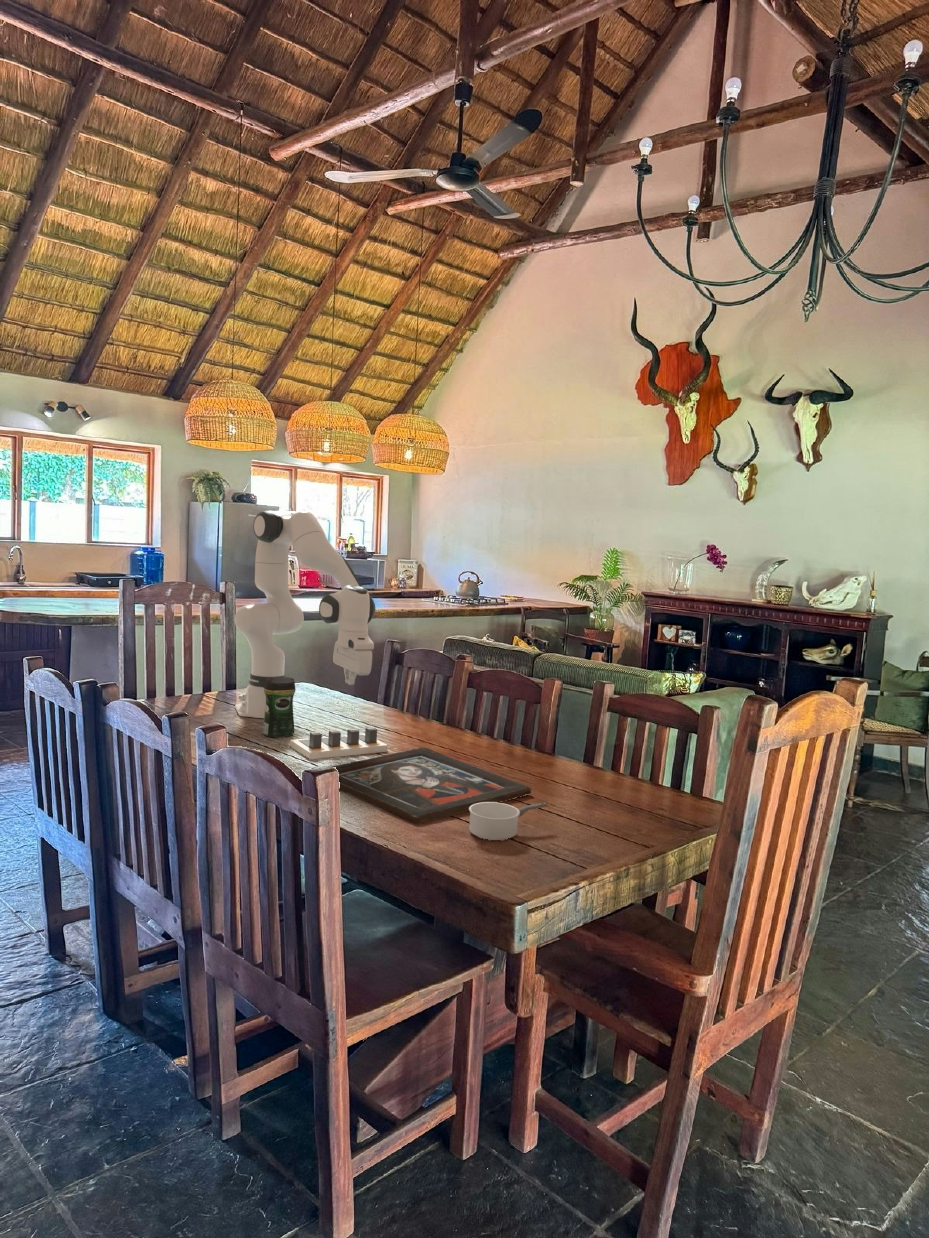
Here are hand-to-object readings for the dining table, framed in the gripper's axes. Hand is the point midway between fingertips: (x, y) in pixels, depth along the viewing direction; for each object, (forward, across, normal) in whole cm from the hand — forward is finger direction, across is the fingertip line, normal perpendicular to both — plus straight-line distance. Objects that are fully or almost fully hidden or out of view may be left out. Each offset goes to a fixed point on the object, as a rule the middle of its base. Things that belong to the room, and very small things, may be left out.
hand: (349, 683), depth 248 cm
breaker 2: (+17, +7, -7) cm, 19 cm away
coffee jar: (+20, -18, -15) cm, 31 cm away
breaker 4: (+16, +7, +5) cm, 19 cm away
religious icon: (+18, +44, +1) cm, 48 cm away
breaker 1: (+17, +7, -13) cm, 22 cm away
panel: (+19, +4, -4) cm, 20 cm away
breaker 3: (+17, +7, -1) cm, 18 cm away
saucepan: (+17, +81, +3) cm, 83 cm away
